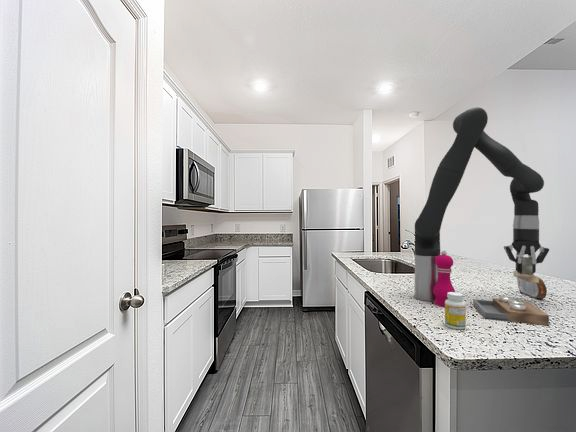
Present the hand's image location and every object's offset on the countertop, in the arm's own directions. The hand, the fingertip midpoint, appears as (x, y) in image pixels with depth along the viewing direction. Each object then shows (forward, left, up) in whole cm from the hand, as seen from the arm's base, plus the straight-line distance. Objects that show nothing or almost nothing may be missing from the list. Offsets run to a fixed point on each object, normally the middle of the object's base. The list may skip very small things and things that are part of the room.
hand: (525, 273), depth 107 cm
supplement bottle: (-29, -36, -12) cm, 48 cm away
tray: (-16, -17, -11) cm, 26 cm away
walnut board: (-8, -17, -11) cm, 22 cm away
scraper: (0, 0, -2) cm, 2 cm away
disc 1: (-10, -13, -8) cm, 18 cm away
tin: (+6, +14, -12) cm, 19 cm away
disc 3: (-9, -22, -8) cm, 25 cm away
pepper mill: (-29, -13, -12) cm, 34 cm away
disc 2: (-8, -17, -8) cm, 21 cm away
